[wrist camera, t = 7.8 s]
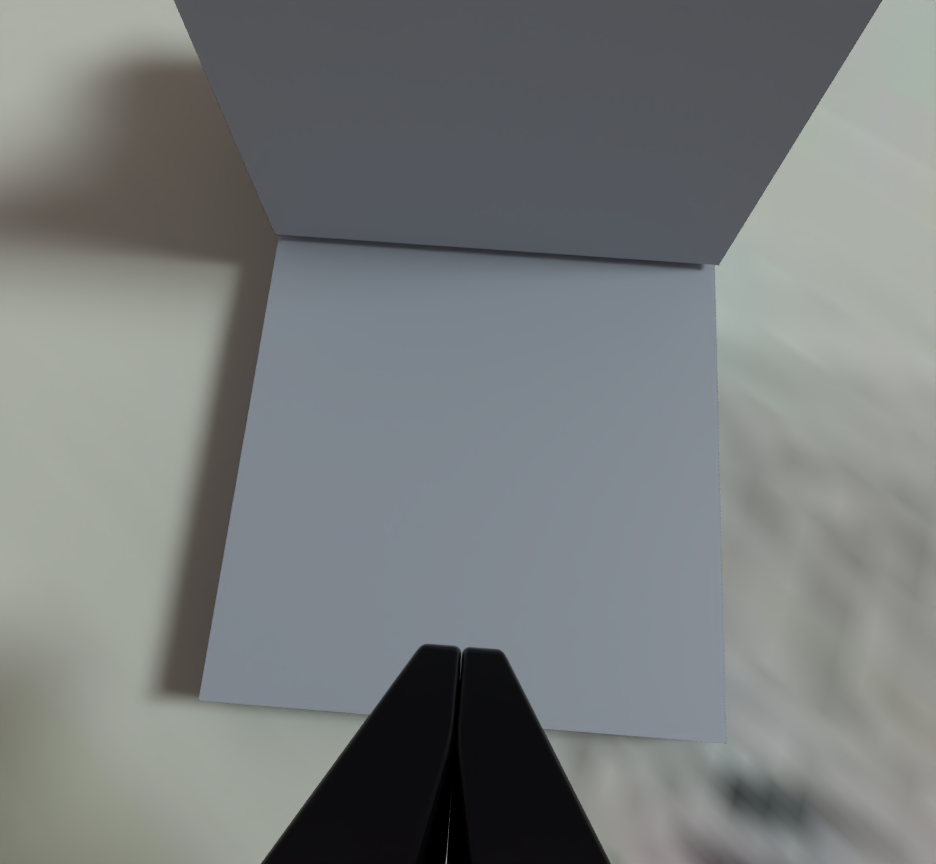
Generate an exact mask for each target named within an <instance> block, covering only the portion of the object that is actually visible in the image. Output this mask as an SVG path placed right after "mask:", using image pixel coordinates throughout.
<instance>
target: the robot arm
mask: <svg viewBox="0 0 936 864" xmlns="http://www.w3.org/2000/svg"><path fill="white" fill-rule="evenodd" d="M461 655H462V660H461ZM460 670H461V672H460ZM450 805H451V806H450ZM449 817H450V821H449ZM448 830H449V836H448ZM447 843H448V850H447ZM446 855H447V864H611V863H610V861H609V859H608V857H607V855H606V853H605V851H604V849H603V847H602V845H601V843H600V841H599V839H598V837H597V835H596V833H595V831H594V829H593V827H592V825H591V823H590V821H589V819H588V817H587V815H586V813H585V811H584V809H583V807H582V805H581V803H580V802H579V800H578V798H577V796H576V794H575V792H574V790H573V788H572V786H571V784H570V782H569V780H568V778H567V776H566V774H565V772H564V770H563V768H562V766H561V764H560V762H559V760H558V758H557V756H556V754H555V752H554V750H553V748H552V746H551V744H550V742H549V740H548V738H547V736H546V734H545V732H544V730H543V728H542V726H541V724H540V722H539V720H538V718H537V716H536V714H535V712H534V710H533V708H532V706H531V704H530V702H529V700H528V698H527V696H526V694H525V692H524V690H523V688H522V686H521V684H520V682H519V680H518V678H517V677H516V675H515V673H514V671H513V669H512V667H511V665H510V663H509V661H508V659H507V657H506V655H505V654H504V652H502V651H501V650H499V649H490V648H478V647H467V648H465V649H464V650H463V652H462V654H461V650H460V648H459V647H457V646H452V645H439V644H424V645H421V646H420V647H419V648H418V649H417V651H416V652H415V653H414V655H413V656H412V657H411V659H410V660H409V662H408V663H407V664H406V666H405V667H404V668H403V670H402V671H401V673H400V674H399V675H398V677H397V678H396V679H395V681H394V682H393V683H392V685H391V686H390V688H389V689H388V690H387V692H386V693H385V694H384V696H383V697H382V699H381V700H380V701H379V703H378V704H377V705H376V707H375V708H374V710H373V711H372V712H371V714H370V715H369V716H368V718H367V719H366V720H365V722H364V723H363V725H362V726H361V727H360V729H359V730H358V731H357V733H356V734H355V736H354V737H353V738H352V740H351V741H350V742H349V744H348V745H347V746H346V748H345V749H344V751H343V752H342V753H341V755H340V756H339V757H338V759H337V760H336V762H335V763H334V764H333V766H332V767H331V768H330V770H329V771H328V772H327V774H326V775H325V777H324V778H323V779H322V781H321V782H320V783H319V785H318V786H317V788H316V789H315V790H314V792H313V793H312V794H311V796H310V797H309V799H308V800H307V801H306V803H305V804H304V805H303V807H302V808H301V809H300V811H299V812H298V814H297V815H296V816H295V818H294V819H293V820H292V822H291V823H290V825H289V826H288V827H287V829H286V830H285V831H284V833H283V834H282V835H281V837H280V838H279V840H278V841H277V842H276V844H275V845H274V846H273V848H272V849H271V851H270V852H269V853H268V855H267V856H266V857H265V859H264V860H263V861H262V863H261V864H446Z"/></svg>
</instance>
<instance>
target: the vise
mask: <svg viewBox="0 0 936 864" xmlns="http://www.w3.org/2000/svg"><path fill="white" fill-rule="evenodd" d="M424 644H439V645H452V646H457V647H459V648H460V650H461V654H462V652H463V650H464V649H465V648H467V647H478V648H490V649H499V650H501V651H502V652H504V654H505V655H506V657H507V659H508V661H509V663H510V665H511V667H512V669H513V671H514V673H515V675H516V677H517V678H518V680H519V682H520V684H521V686H522V688H523V690H524V692H525V694H526V696H527V698H528V700H529V702H530V704H531V706H532V708H533V710H534V712H535V714H536V716H537V718H538V720H539V722H540V724H541V726H542V728H543V729H552V730H564V731H577V732H589V733H601V734H614V735H626V736H638V737H650V738H663V739H675V740H687V741H699V742H712V743H724V744H726V714H725V672H724V631H723V589H722V547H721V506H720V464H719V423H718V381H717V339H716V298H715V265H710V264H696V263H681V262H667V261H652V260H638V259H623V258H609V257H594V256H580V255H566V254H551V253H537V252H522V251H508V250H493V249H479V248H464V247H450V246H435V245H421V244H406V243H392V242H377V241H363V240H348V239H334V238H319V237H305V236H290V235H279V238H278V244H277V249H276V255H275V261H274V267H273V272H272V278H271V284H270V290H269V296H268V301H267V307H266V313H265V319H264V324H263V330H262V336H261V342H260V348H259V353H258V359H257V365H256V371H255V376H254V382H253V388H252V394H251V400H250V405H249V411H248V417H247V423H246V428H245V434H244V440H243V446H242V452H241V457H240V463H239V469H238V475H237V480H236V486H235V492H234V498H233V504H232V509H231V515H230V521H229V527H228V532H227V538H226V544H225V550H224V556H223V561H222V567H221V573H220V579H219V584H218V590H217V596H216V602H215V608H214V613H213V619H212V625H211V631H210V636H209V642H208V648H207V654H206V660H205V665H204V671H203V677H202V683H201V688H200V694H199V700H198V701H209V702H221V703H233V704H245V705H258V706H270V707H282V708H295V709H307V710H319V711H331V712H344V713H356V714H368V715H370V714H371V712H372V711H373V710H374V708H375V707H376V705H377V704H378V703H379V701H380V700H381V699H382V697H383V696H384V694H385V693H386V692H387V690H388V689H389V688H390V686H391V685H392V683H393V682H394V681H395V679H396V678H397V677H398V675H399V674H400V673H401V671H402V670H403V668H404V667H405V666H406V664H407V663H408V662H409V660H410V659H411V657H412V656H413V655H414V653H415V652H416V651H417V649H418V648H419V647H420V646H421V645H424ZM461 660H462V655H461ZM460 672H461V670H460Z"/></svg>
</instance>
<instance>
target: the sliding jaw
mask: <svg viewBox="0 0 936 864" xmlns="http://www.w3.org/2000/svg"><path fill="white" fill-rule="evenodd" d="M174 1H175V4H176V6H177V8H178V11H179V13H180V15H181V18H182V20H183V22H184V25H185V27H186V29H187V32H188V34H189V36H190V38H191V41H192V43H193V45H194V48H195V50H196V52H197V55H198V57H199V59H200V62H201V64H202V66H203V69H204V71H205V73H206V76H207V78H208V80H209V82H210V85H211V87H212V89H213V92H214V94H215V96H216V99H217V101H218V103H219V106H220V108H221V110H222V113H223V115H224V117H225V120H226V122H227V124H228V126H229V129H230V131H231V133H232V136H233V138H234V140H235V143H236V145H237V147H238V150H239V152H240V154H241V157H242V159H243V161H244V164H245V166H246V168H247V170H248V173H249V175H250V177H251V180H252V182H253V184H254V187H255V189H256V191H257V194H258V196H259V198H260V201H261V203H262V205H263V208H264V210H265V212H266V214H267V217H268V219H269V221H270V224H271V226H272V228H273V231H274V233H275V234H276V235H290V236H305V237H319V238H334V239H348V240H363V241H377V242H392V243H406V244H421V245H435V246H450V247H464V248H479V249H493V250H508V251H522V252H537V253H551V254H566V255H580V256H594V257H609V258H623V259H638V260H652V261H667V262H681V263H696V264H710V265H719V264H720V262H721V260H722V259H723V257H724V256H725V254H726V252H727V251H728V249H729V248H730V246H731V244H732V243H733V241H734V239H735V238H736V236H737V235H738V233H739V231H740V230H741V228H742V227H743V225H744V223H745V222H746V220H747V218H748V217H749V215H750V214H751V212H752V210H753V209H754V207H755V205H756V204H757V202H758V201H759V199H760V197H761V196H762V194H763V193H764V191H765V189H766V188H767V186H768V184H769V183H770V181H771V180H772V178H773V176H774V175H775V173H776V172H777V170H778V168H779V167H780V165H781V163H782V162H783V160H784V159H785V157H786V155H787V154H788V152H789V150H790V149H791V147H792V146H793V144H794V142H795V141H796V139H797V138H798V136H799V134H800V133H801V131H802V129H803V128H804V126H805V125H806V123H807V121H808V120H809V118H810V116H811V115H812V113H813V112H814V110H815V108H816V107H817V105H818V104H819V102H820V100H821V99H822V97H823V95H824V94H825V92H826V91H827V89H828V87H829V86H830V84H831V83H832V81H833V79H834V78H835V76H836V74H837V73H838V71H839V70H840V68H841V66H842V65H843V63H844V61H845V60H846V58H847V57H848V55H849V53H850V52H851V50H852V49H853V47H854V45H855V44H856V42H857V40H858V39H859V37H860V36H861V34H862V32H863V31H864V29H865V28H866V26H867V24H868V23H869V21H870V19H871V18H872V16H873V15H874V13H875V11H876V10H877V8H878V6H879V5H880V3H881V2H882V0H174Z"/></svg>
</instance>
